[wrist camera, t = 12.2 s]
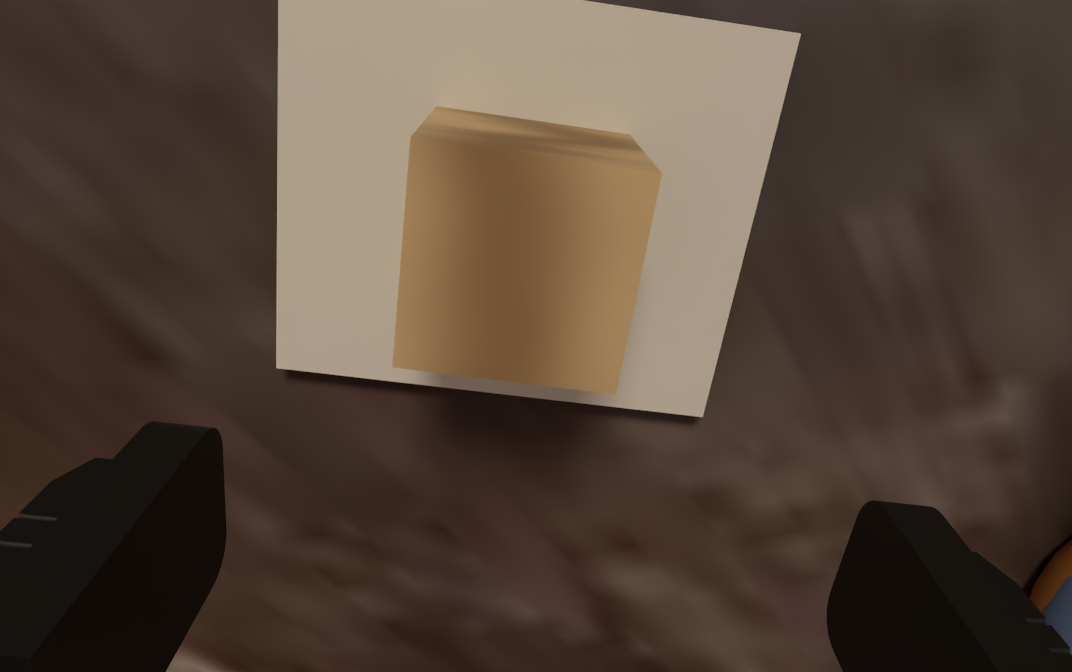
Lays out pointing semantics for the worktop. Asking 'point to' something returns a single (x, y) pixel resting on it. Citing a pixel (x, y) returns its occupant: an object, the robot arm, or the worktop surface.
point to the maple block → (521, 250)
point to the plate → (528, 93)
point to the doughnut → (1056, 593)
